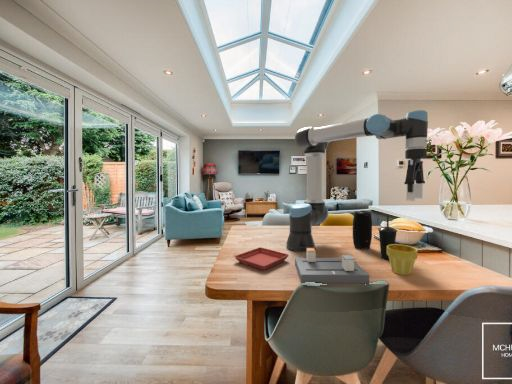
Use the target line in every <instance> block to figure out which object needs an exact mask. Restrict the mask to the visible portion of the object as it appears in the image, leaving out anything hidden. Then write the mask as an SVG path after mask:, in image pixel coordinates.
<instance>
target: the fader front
mask: <svg viewBox="0 0 512 384" xmlns="http://www.w3.org/2000/svg"><path fill="white" fill-rule="evenodd" d="M341 258H342V267H343V269H344V270H345V271H354V261H355V258H354V257H353V256H352V255H351V254H341Z"/></svg>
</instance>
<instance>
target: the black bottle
mask: <svg viewBox="0 0 512 384" xmlns="http://www.w3.org/2000/svg"><path fill="white" fill-rule="evenodd" d="M389 218H390V215H386V226H382V227H379V228H378V235H379V236H378V237H379V248H380V258H381V259H382V260H384V261H390V260H389V256H388V255H387V246H388V245H391V244H396V239H397V232H398V230H397V229H396V228H394V227H391V226H389V223H390V221H389V220H390V219H389Z"/></svg>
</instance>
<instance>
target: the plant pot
mask: <svg viewBox="0 0 512 384" xmlns="http://www.w3.org/2000/svg"><path fill="white" fill-rule="evenodd" d="M418 253H419V252H418V249H417V248H416V247H414V246H411V245H406V244H400V243H399V244H398V243H395V244H391V245H388V246H387V255H388V256H389V260H388V261H389V263H390V268H391V269H390V270H391V271H392V272H393V273H394V274H397V275H402V276H409V275H411V274H412V271H413V268H414V265H415V261H416V260H417V259H418V255H419V254H418Z"/></svg>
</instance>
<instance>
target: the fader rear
mask: <svg viewBox="0 0 512 384" xmlns="http://www.w3.org/2000/svg"><path fill="white" fill-rule="evenodd" d="M315 249H316V248H315ZM315 249H314V248H306V251H305V252H306V253H305V254H306V256H305V258H306V259H307V261H308V262H316V258H317V255H316V252H317V251H316V250H315Z"/></svg>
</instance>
